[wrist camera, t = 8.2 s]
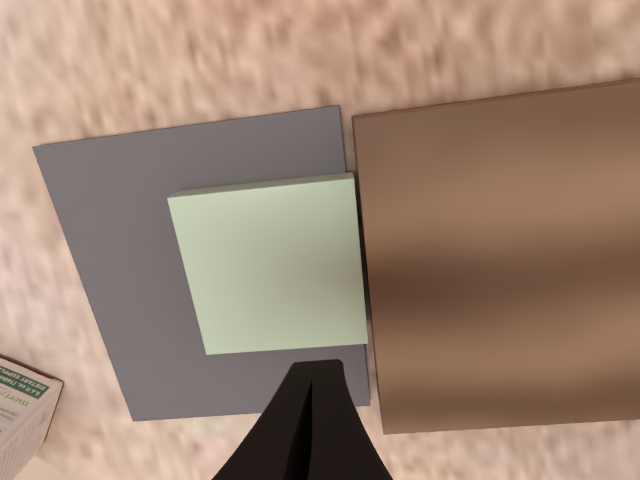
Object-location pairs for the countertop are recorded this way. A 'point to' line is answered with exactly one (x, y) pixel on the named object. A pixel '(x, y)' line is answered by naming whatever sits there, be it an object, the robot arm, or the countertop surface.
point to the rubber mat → (165, 257)
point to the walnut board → (504, 258)
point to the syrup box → (23, 415)
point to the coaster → (273, 263)
